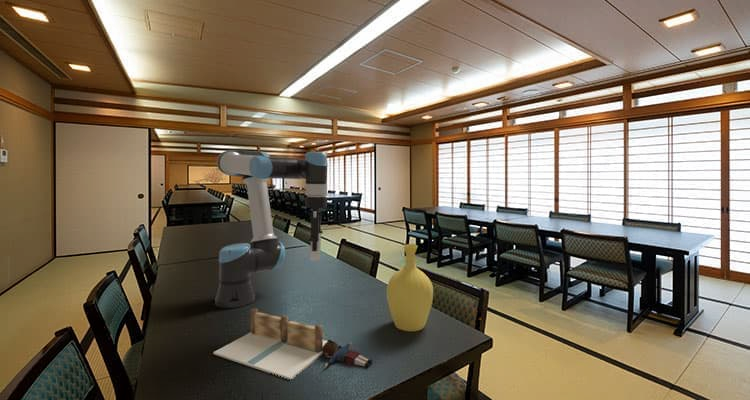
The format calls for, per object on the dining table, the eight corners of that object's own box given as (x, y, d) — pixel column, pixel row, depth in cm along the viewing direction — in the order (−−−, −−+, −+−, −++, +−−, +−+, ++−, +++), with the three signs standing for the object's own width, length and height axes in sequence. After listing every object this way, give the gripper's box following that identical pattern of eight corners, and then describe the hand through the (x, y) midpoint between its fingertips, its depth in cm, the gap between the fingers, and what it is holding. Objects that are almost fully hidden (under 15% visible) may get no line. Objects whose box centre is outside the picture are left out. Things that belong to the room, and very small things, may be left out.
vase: (427, 339, 104) (429, 251, 102) (380, 330, 109) (380, 248, 108) (436, 319, 119) (437, 243, 117) (394, 312, 124) (394, 240, 123)
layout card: (213, 354, 94) (213, 351, 94) (264, 326, 112) (264, 324, 112) (290, 380, 82) (290, 377, 82) (334, 344, 100) (334, 342, 100)
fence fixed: (286, 343, 98) (286, 320, 98) (291, 340, 100) (291, 317, 100) (319, 352, 93) (319, 328, 93) (324, 349, 95) (324, 325, 95)
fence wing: (290, 339, 101) (289, 316, 100) (285, 342, 99) (285, 318, 98) (254, 329, 107) (254, 308, 107) (249, 332, 105) (249, 310, 105)
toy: (380, 358, 95) (336, 343, 101) (381, 342, 94) (337, 328, 101) (357, 384, 82) (308, 365, 89) (358, 366, 82) (309, 349, 88)
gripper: (308, 194, 127) (308, 248, 128) (301, 198, 102) (301, 264, 104) (327, 194, 128) (327, 248, 129) (325, 198, 103) (325, 264, 105)
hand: (315, 255), depth 116 cm, fingers open, 13 cm apart
